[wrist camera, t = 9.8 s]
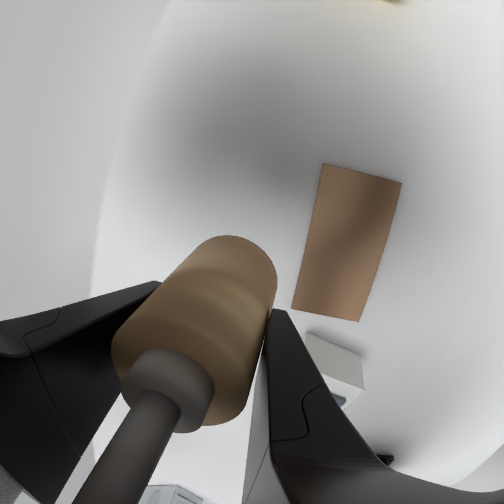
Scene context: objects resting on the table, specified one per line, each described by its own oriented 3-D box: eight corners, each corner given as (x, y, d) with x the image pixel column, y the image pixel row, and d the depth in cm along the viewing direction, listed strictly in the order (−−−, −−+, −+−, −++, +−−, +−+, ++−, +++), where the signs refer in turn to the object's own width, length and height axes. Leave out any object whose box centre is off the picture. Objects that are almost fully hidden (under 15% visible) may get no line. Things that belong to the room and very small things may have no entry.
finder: (359, 354, 22) (365, 394, 18) (313, 403, 25) (311, 441, 21) (305, 330, 22) (303, 370, 18) (264, 384, 25) (256, 422, 21)
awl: (285, 245, 10) (191, 555, 2) (269, 327, 11) (195, 574, 3) (190, 227, 10) (-28, 425, 2) (186, 307, 11) (50, 507, 3)
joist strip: (400, 183, 17) (401, 183, 17) (305, 434, 27) (305, 436, 27) (323, 163, 18) (323, 164, 17) (257, 425, 27) (257, 427, 27)
